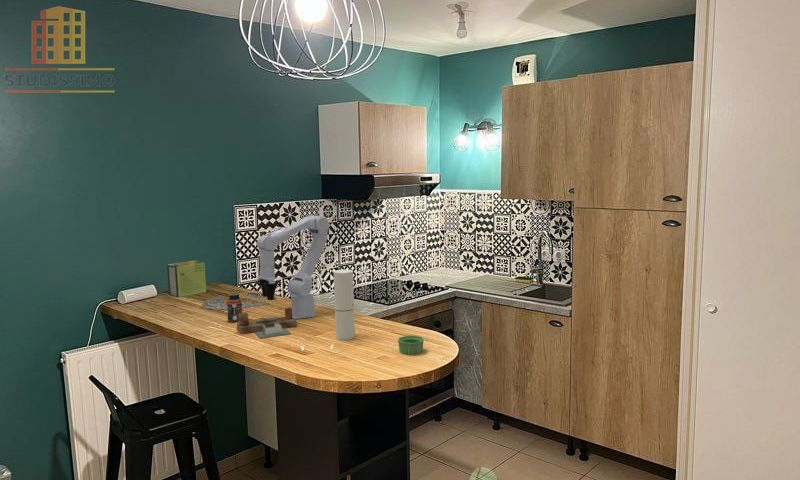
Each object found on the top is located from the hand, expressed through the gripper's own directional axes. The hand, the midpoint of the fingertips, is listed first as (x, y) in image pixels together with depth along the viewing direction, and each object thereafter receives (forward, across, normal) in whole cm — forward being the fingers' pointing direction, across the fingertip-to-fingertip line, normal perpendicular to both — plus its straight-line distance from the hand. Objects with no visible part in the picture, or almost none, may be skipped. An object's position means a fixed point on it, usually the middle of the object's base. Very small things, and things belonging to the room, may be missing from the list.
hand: (268, 298), depth 250 cm
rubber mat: (+10, +16, -2) cm, 20 cm away
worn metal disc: (+11, -47, -3) cm, 48 cm away
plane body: (+10, +7, -2) cm, 13 cm away
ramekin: (+10, +61, +34) cm, 71 cm away
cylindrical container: (+10, +34, +20) cm, 41 cm away
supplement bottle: (+11, -11, -12) cm, 19 cm away
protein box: (+11, -78, -22) cm, 82 cm away
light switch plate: (+10, +16, -3) cm, 19 cm away
